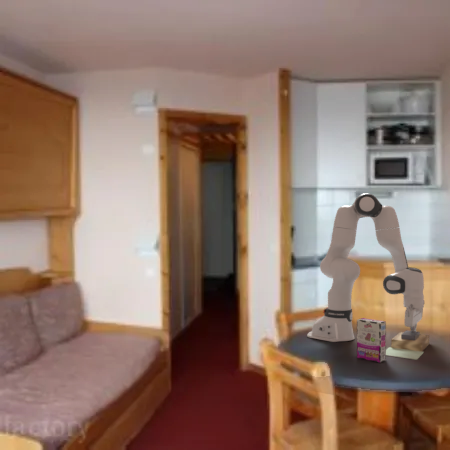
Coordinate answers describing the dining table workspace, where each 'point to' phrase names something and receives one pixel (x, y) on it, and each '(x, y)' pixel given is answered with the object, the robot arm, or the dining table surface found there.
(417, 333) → the grey flat block
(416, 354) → the mat
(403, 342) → the square wooden plank
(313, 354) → the dining table surface
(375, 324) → the candy bar box
